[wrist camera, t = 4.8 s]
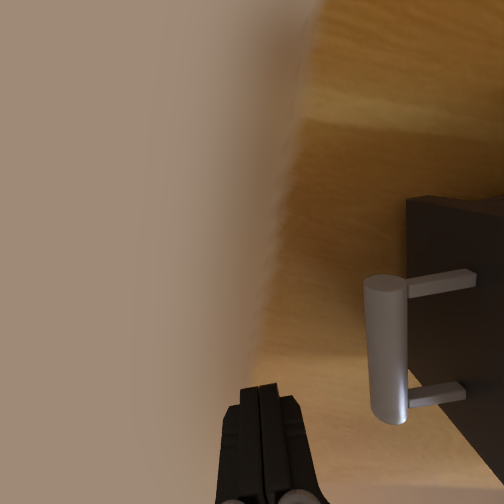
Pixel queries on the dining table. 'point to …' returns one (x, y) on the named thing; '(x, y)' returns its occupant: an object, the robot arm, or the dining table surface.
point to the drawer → (444, 322)
